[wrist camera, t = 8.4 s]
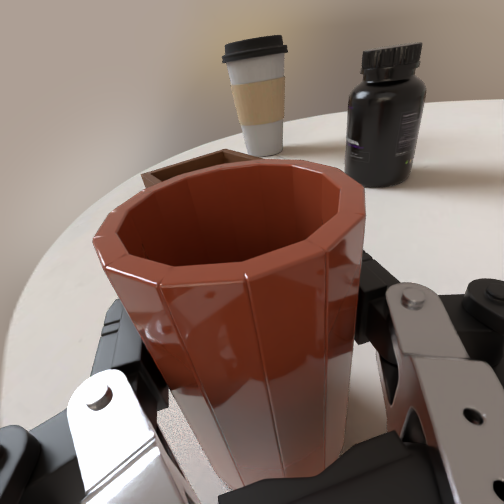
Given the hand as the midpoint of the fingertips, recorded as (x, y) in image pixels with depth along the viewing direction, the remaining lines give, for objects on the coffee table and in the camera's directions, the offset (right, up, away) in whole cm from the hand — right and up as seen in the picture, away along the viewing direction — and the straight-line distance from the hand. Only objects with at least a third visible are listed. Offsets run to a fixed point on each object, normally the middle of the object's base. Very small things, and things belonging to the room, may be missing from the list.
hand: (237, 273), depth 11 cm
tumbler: (+1, -6, +1) cm, 6 cm away
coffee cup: (+3, +17, +36) cm, 40 cm away
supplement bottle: (+15, +9, +21) cm, 27 cm away
